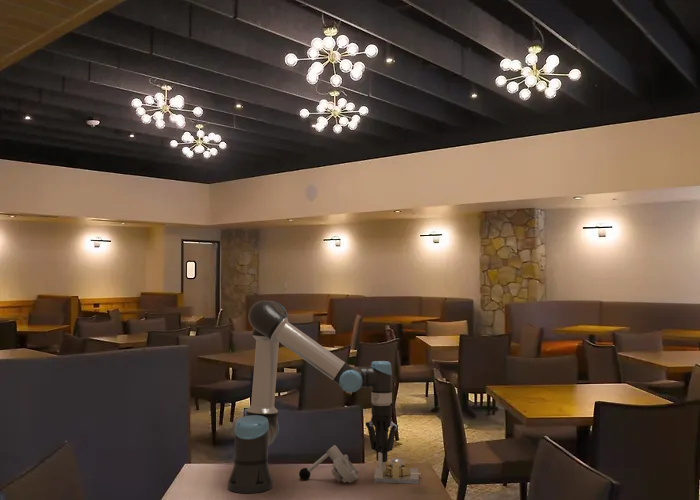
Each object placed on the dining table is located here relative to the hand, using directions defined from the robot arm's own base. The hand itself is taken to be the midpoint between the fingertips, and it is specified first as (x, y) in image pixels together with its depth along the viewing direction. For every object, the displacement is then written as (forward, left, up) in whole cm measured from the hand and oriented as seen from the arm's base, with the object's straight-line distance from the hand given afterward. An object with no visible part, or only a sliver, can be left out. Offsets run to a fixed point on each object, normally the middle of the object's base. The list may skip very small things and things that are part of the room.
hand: (381, 470), depth 219 cm
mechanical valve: (-19, -3, -4) cm, 20 cm away
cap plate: (+5, +5, -4) cm, 8 cm away
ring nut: (+5, +3, -2) cm, 6 cm away
